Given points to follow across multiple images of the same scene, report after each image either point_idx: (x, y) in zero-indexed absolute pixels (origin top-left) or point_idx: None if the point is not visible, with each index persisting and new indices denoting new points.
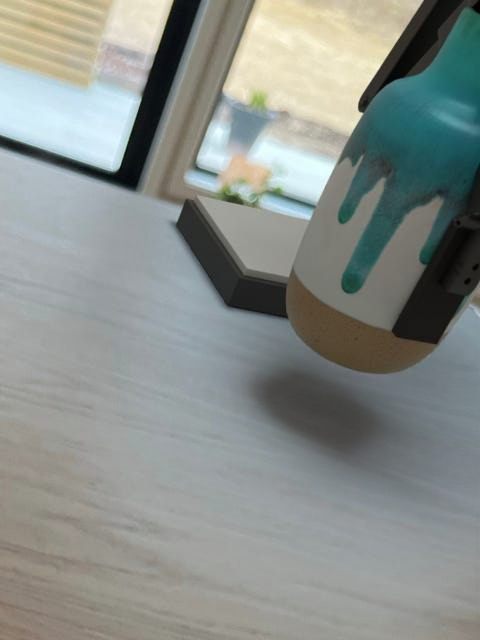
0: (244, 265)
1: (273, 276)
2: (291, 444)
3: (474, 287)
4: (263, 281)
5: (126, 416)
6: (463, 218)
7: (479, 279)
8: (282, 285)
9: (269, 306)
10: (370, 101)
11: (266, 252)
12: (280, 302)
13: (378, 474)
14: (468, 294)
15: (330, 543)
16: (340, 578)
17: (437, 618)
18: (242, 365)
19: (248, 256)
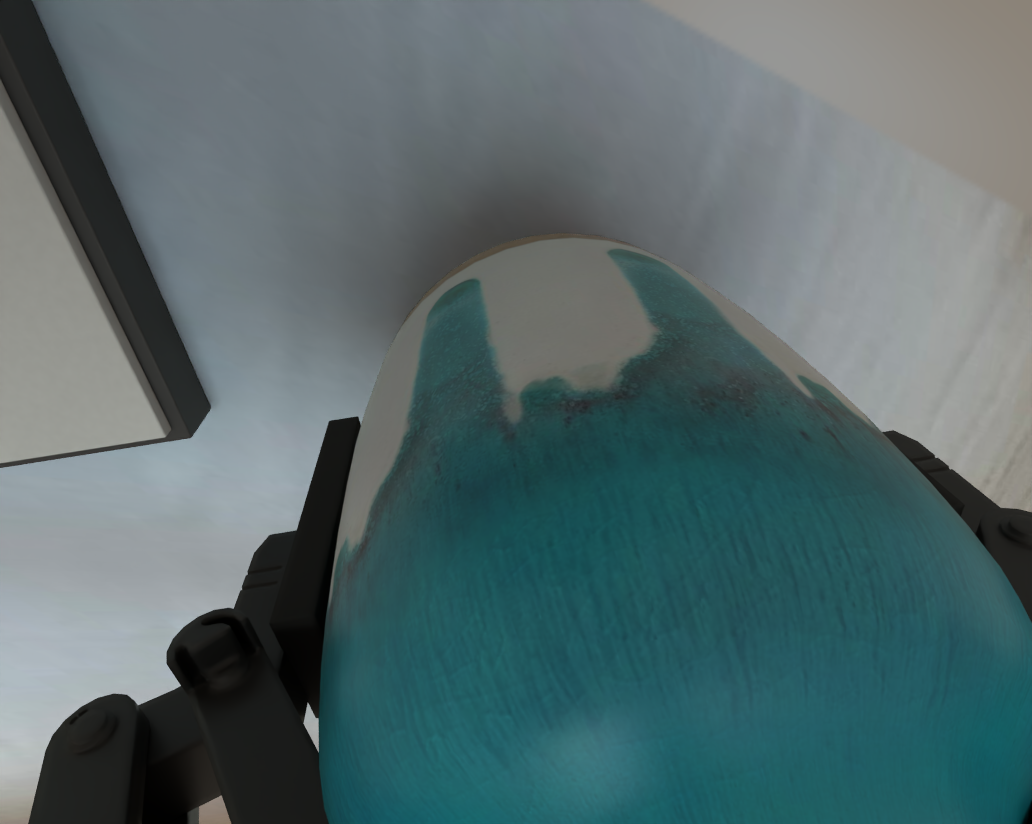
0: (151, 439)
1: (140, 379)
2: None
3: (919, 446)
4: (164, 392)
5: None
6: None
7: (934, 458)
8: (144, 350)
9: (174, 340)
10: (197, 820)
11: (11, 379)
12: (158, 326)
13: (705, 247)
14: (899, 435)
15: (868, 373)
16: (928, 376)
17: (1013, 265)
18: None
19: (90, 426)
